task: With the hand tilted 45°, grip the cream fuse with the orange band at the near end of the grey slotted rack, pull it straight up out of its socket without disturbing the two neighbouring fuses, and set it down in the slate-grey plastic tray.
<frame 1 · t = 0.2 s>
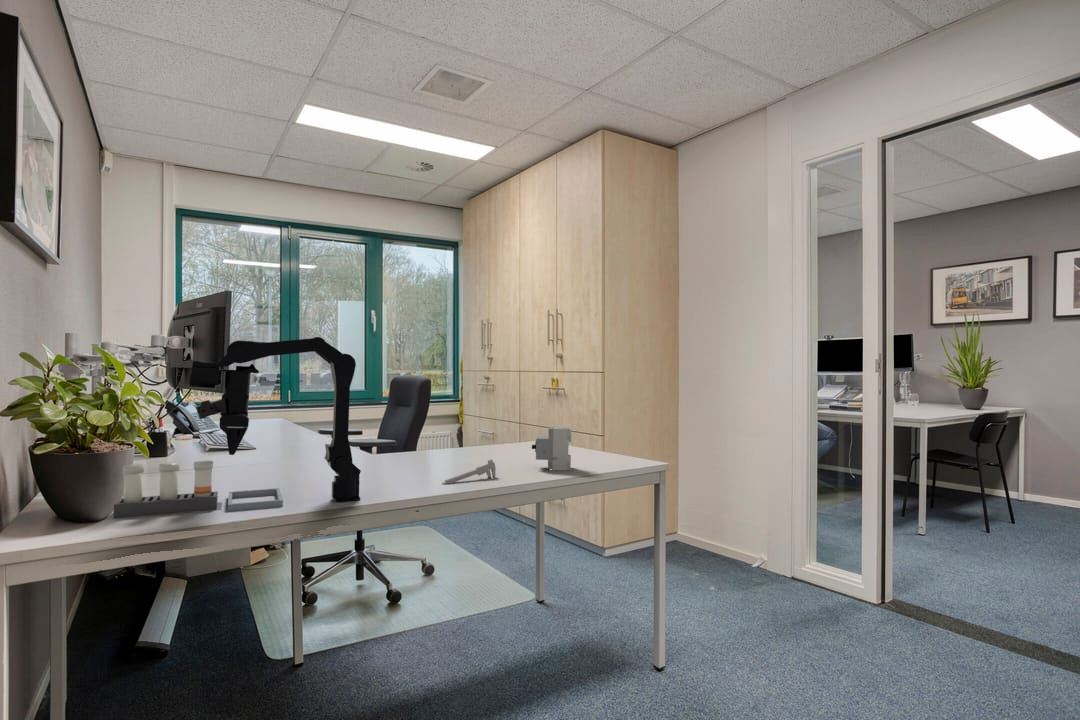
hand: (231, 452, 144), 14 cm above the table, tool pointing down, fingers open, 9 cm apart
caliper: (469, 481, 186), on the table
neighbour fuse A: (168, 510, 136), point 1 cm above the table, touching grey slotted rack
grey slotted rack: (168, 516, 136), on the table
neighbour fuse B: (132, 513, 133), point 1 cm above the table, touching grey slotted rack
marked fuse: (202, 507, 139), point 1 cm above the table, touching grey slotted rack
parts tray: (254, 507, 146), on the table
circuit breaker: (550, 469, 210), on the table
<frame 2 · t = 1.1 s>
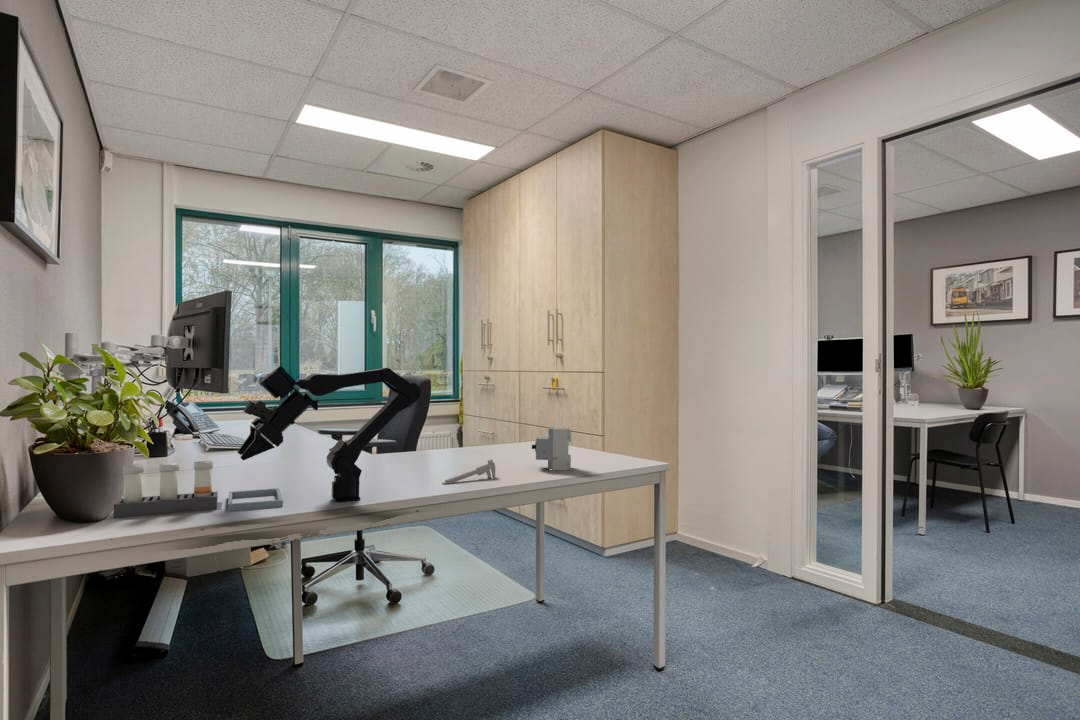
hand: (240, 456, 144), 13 cm above the table, tool tilted 45°, fingers open, 9 cm apart
nothing on the table moved.
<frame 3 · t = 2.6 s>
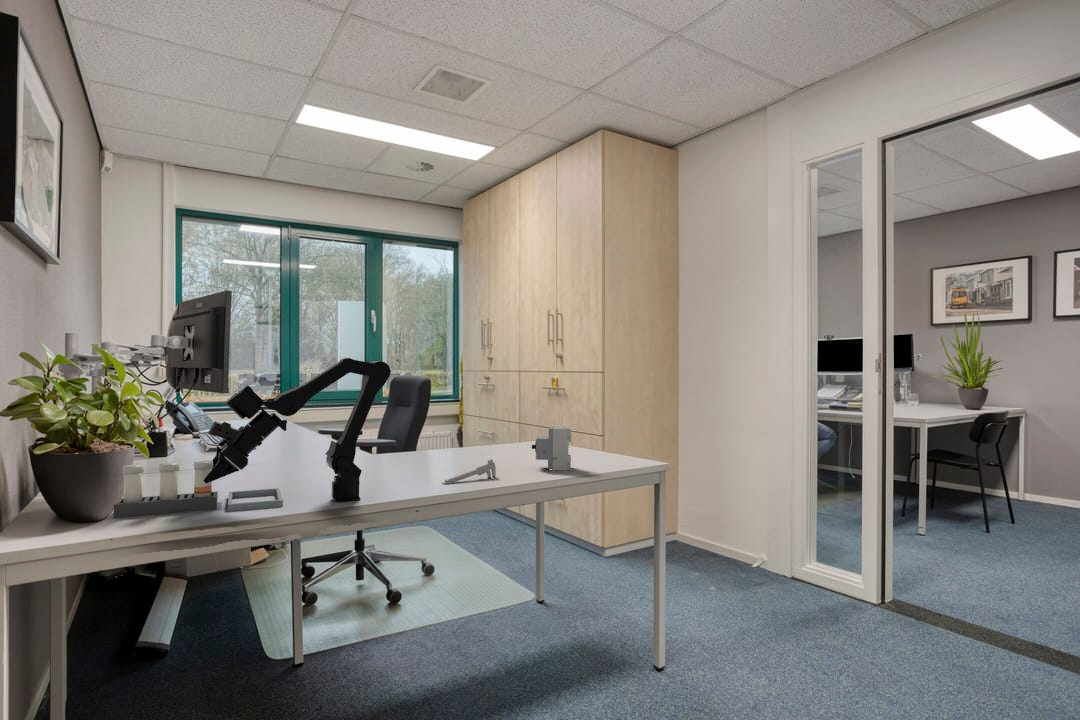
hand: (204, 478, 140), 8 cm above the table, tool tilted 45°, fingers open, 9 cm apart
nothing on the table moved.
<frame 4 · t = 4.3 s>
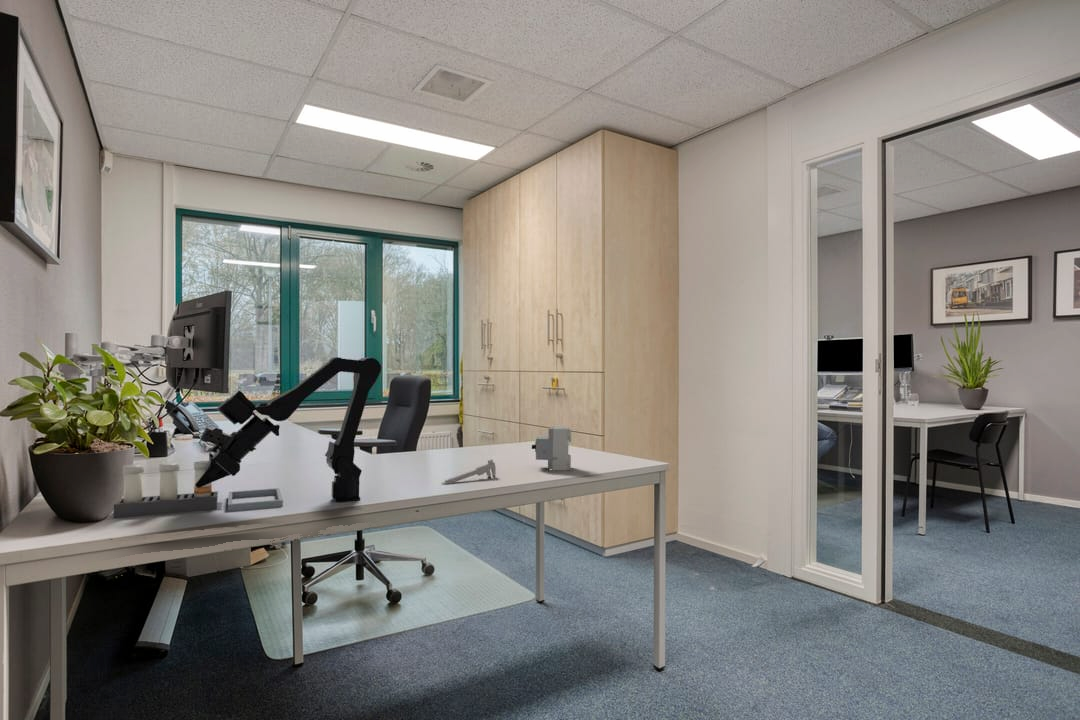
hand: (196, 485, 139), 7 cm above the table, tool tilted 45°, fingers closed on marked fuse, 4 cm apart
marked fuse: (202, 507, 139), point 2 cm above the table, touching grey slotted rack, gripper
everything else where it was.
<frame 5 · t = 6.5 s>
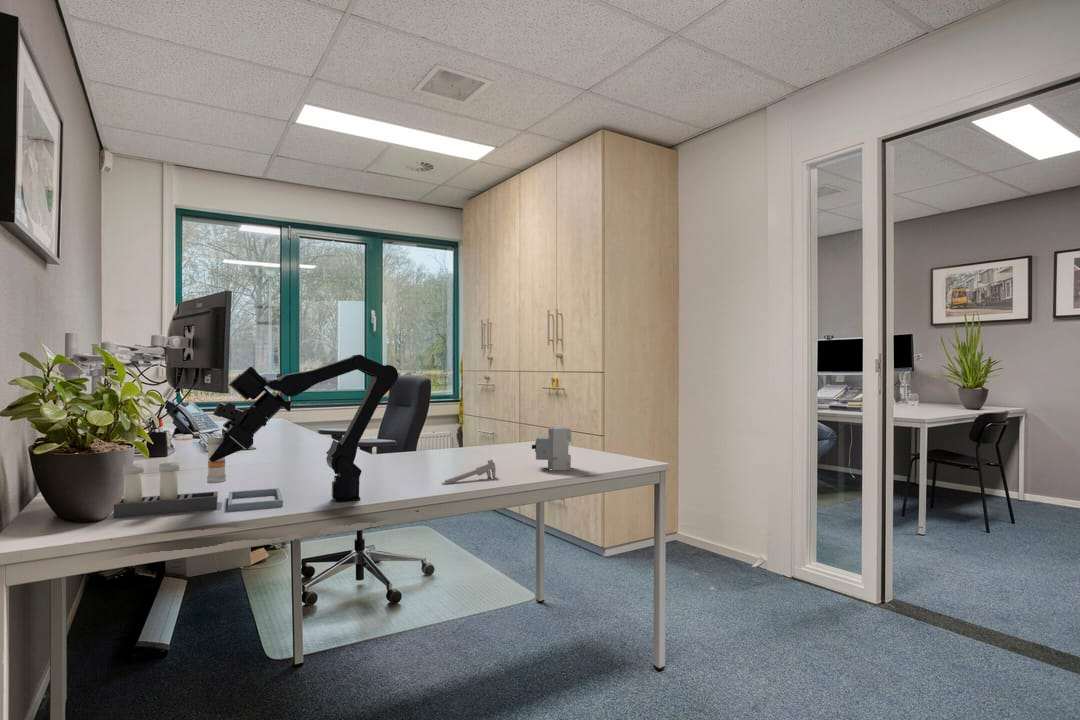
hand: (210, 459, 140), 13 cm above the table, tool tilted 45°, fingers closed on marked fuse, 4 cm apart
marked fuse: (216, 481, 141), point 7 cm above the table, touching gripper
everything else where it was.
when the fingers open (8 cm above the table, at t = 8.9 s): marked fuse drops 2 cm, resting on parts tray.
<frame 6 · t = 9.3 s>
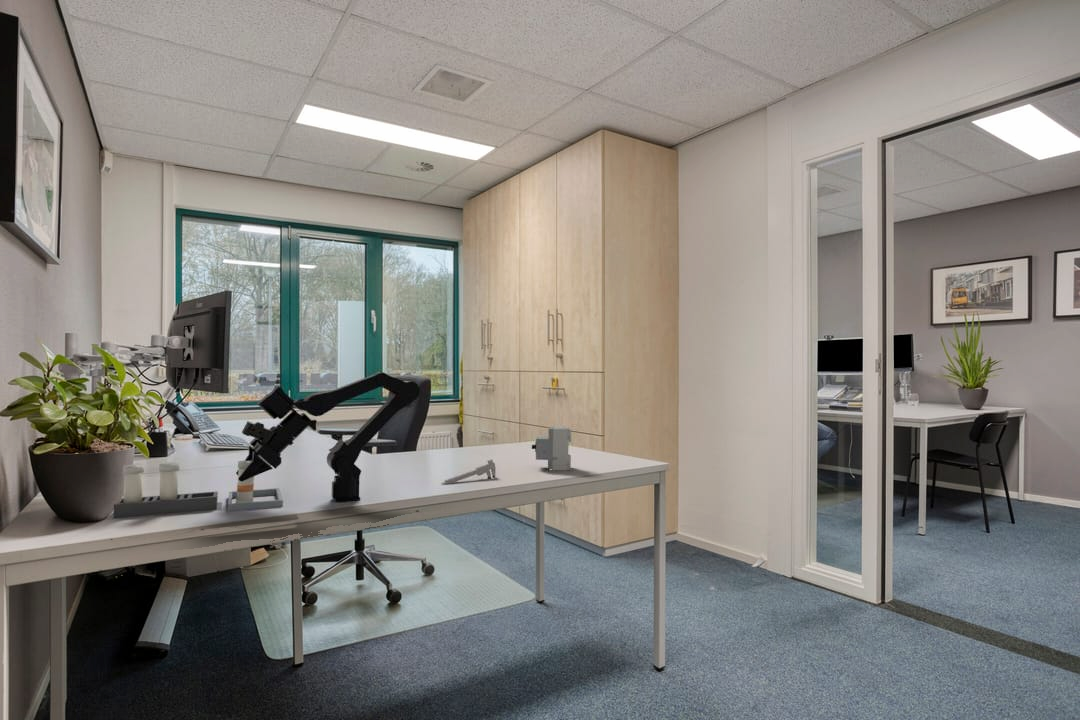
hand: (238, 477, 144), 8 cm above the table, tool tilted 45°, fingers open, 8 cm apart
marked fuse: (244, 505, 145), point 1 cm above the table, touching parts tray
everything else where it was.
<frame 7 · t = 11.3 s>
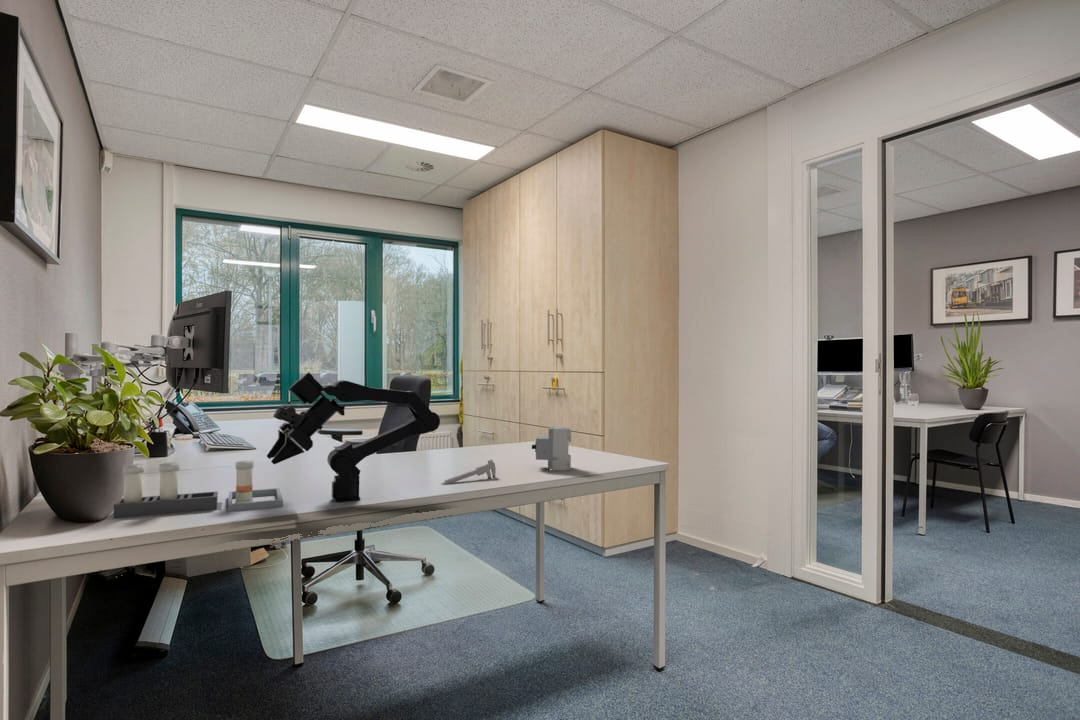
hand: (270, 460, 148), 12 cm above the table, tool tilted 45°, fingers open, 9 cm apart
nothing on the table moved.
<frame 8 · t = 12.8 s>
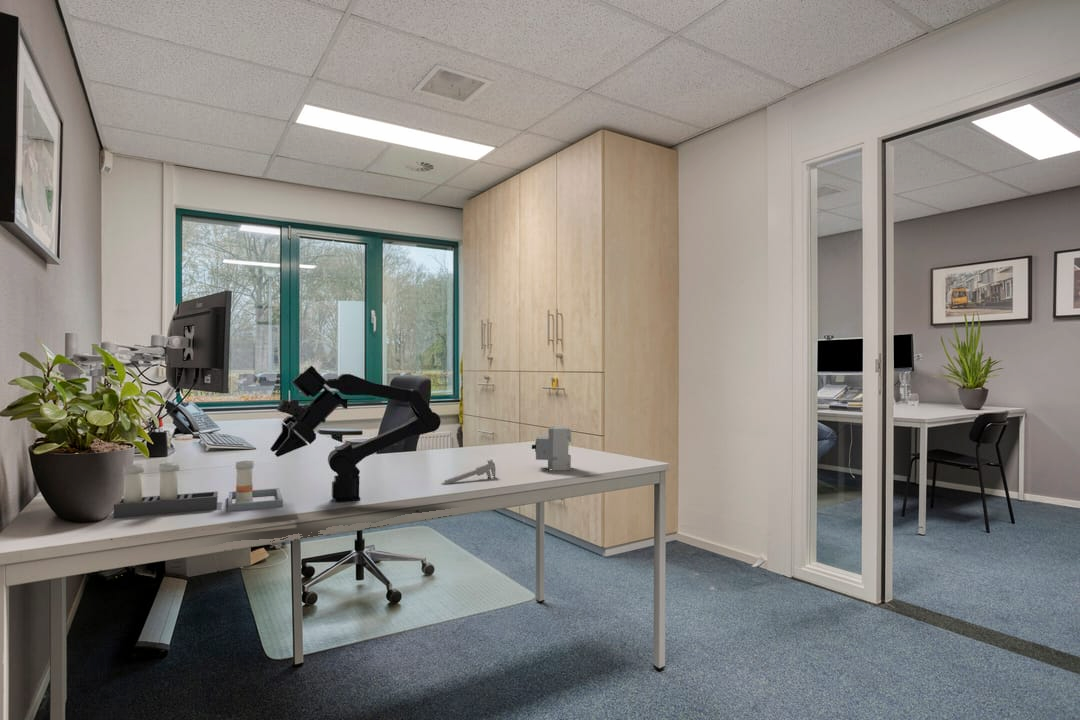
hand: (273, 453, 148), 14 cm above the table, tool tilted 45°, fingers open, 9 cm apart
nothing on the table moved.
at the end: marked fuse inside the target area on the parts tray (2.5 cm from its centre), point 0.8 cm above the parts tray's base; the gripper is holding nothing; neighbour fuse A moved 0.0 cm from its start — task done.
